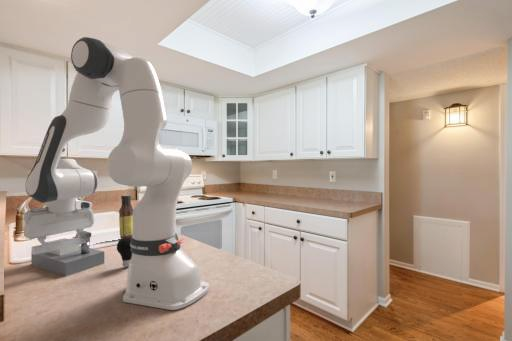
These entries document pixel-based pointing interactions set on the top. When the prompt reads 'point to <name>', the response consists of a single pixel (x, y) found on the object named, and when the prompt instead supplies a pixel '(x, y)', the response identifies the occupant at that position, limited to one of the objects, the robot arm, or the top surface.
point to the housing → (68, 261)
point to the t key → (65, 244)
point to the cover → (64, 250)
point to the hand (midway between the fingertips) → (61, 245)
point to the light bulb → (125, 250)
